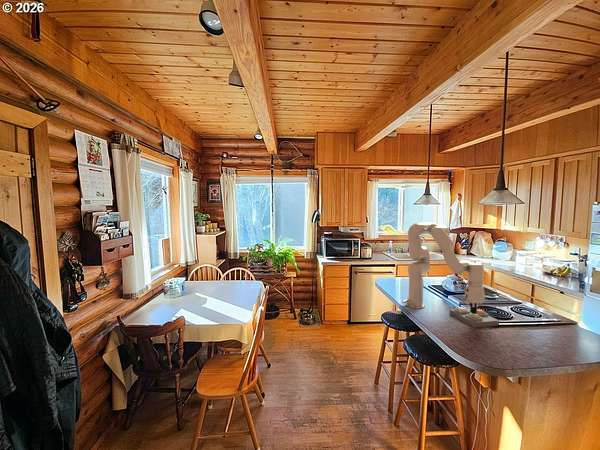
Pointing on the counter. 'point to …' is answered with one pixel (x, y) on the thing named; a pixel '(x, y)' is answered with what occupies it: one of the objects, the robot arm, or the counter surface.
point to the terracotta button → (480, 311)
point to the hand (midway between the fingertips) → (473, 313)
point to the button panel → (481, 321)
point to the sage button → (473, 315)
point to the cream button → (462, 309)
